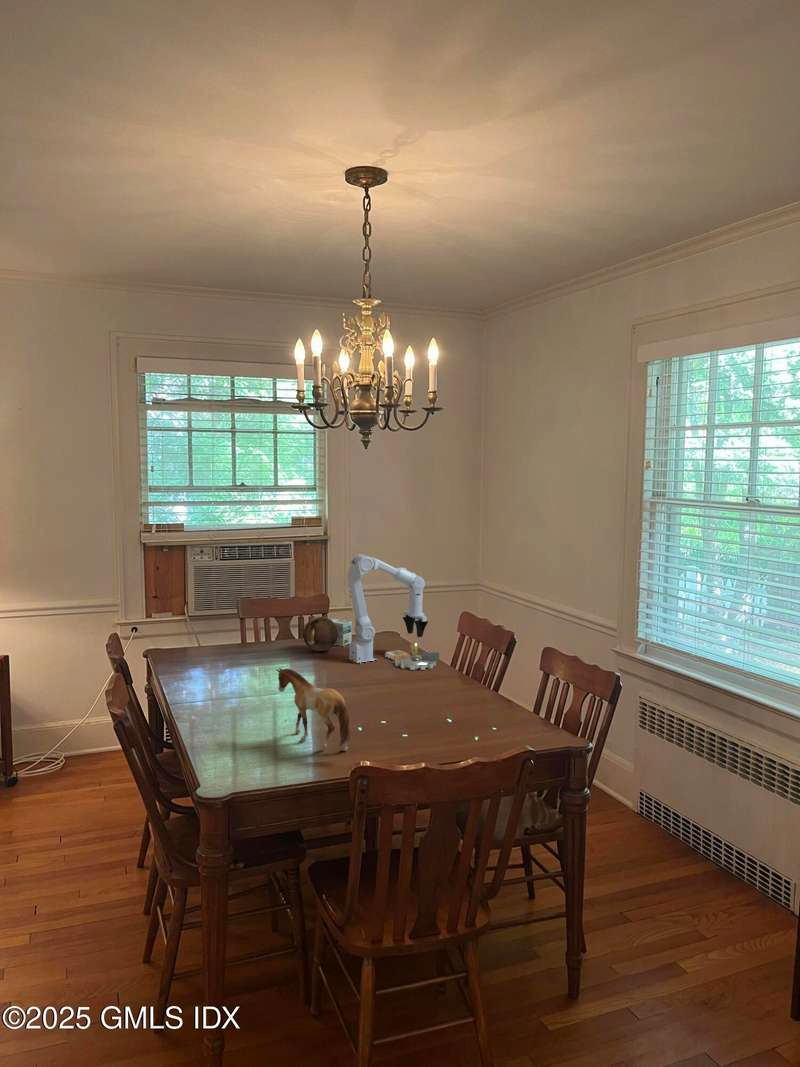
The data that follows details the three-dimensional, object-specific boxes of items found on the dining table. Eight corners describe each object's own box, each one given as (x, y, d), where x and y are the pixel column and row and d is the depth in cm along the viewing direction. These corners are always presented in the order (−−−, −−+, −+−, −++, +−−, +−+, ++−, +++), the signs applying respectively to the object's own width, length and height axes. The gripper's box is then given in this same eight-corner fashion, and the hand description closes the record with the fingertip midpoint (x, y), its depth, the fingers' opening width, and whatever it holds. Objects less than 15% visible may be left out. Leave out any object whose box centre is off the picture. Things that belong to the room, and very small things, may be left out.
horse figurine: (274, 734, 228) (274, 667, 226) (294, 728, 234) (294, 662, 232) (344, 763, 207) (345, 690, 205) (364, 756, 213) (365, 684, 211)
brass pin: (413, 657, 322) (413, 643, 322) (408, 655, 325) (409, 642, 324) (419, 656, 324) (419, 642, 324) (414, 655, 327) (415, 641, 326)
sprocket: (441, 669, 303) (441, 658, 302) (397, 670, 301) (397, 658, 301) (435, 659, 319) (435, 647, 319) (393, 659, 317) (393, 648, 317)
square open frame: (394, 660, 316) (395, 655, 316) (385, 657, 322) (385, 652, 321) (408, 658, 320) (408, 653, 320) (399, 655, 326) (399, 650, 326)
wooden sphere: (325, 645, 341) (325, 612, 339) (344, 652, 329) (345, 618, 328) (296, 649, 331) (296, 616, 330) (315, 657, 320) (315, 622, 318)
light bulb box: (352, 644, 343) (352, 621, 342) (343, 647, 338) (343, 623, 337) (333, 641, 349) (333, 618, 348) (324, 644, 343) (324, 620, 342)
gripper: (433, 605, 317) (432, 637, 319) (414, 600, 330) (413, 630, 331) (418, 607, 314) (418, 639, 315) (400, 601, 326) (399, 632, 327)
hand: (415, 635), depth 323 cm, fingers open, 7 cm apart
